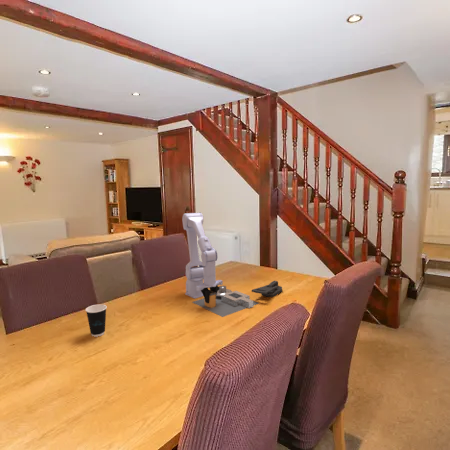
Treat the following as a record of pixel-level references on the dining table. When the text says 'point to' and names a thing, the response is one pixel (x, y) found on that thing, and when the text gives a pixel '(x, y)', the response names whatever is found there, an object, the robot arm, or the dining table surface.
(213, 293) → the orange grey two-tone block
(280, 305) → the dining table surface
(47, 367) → the dining table surface
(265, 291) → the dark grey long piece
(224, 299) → the scaffold node
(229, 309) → the site mat
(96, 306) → the dixie cup
